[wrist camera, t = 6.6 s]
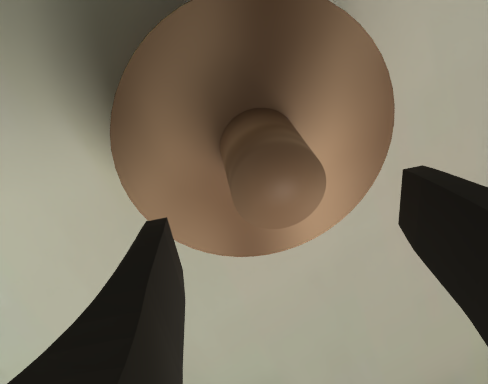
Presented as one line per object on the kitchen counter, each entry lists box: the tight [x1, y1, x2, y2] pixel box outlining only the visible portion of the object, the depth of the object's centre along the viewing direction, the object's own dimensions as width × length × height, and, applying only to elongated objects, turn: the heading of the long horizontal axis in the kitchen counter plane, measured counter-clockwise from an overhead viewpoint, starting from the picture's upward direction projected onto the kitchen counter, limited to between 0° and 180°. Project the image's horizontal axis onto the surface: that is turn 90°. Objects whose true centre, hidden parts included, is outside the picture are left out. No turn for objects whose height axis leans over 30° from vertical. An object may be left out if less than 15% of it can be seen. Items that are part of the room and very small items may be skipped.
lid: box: [110, 0, 394, 257], centre depth 14 cm, size 11×11×4 cm
